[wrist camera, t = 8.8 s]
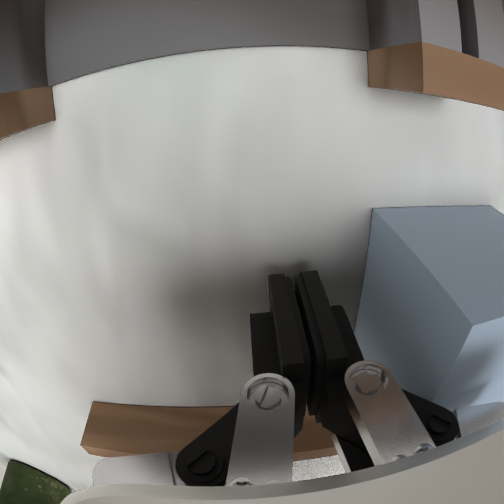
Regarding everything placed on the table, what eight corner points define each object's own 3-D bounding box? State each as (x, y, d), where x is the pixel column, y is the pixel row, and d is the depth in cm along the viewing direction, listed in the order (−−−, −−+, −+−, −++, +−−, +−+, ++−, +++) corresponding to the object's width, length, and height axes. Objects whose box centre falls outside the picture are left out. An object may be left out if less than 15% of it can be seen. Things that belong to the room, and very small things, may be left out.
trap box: (567, 328, 16) (584, 349, 14) (100, 411, 16) (89, 453, 13) (625, 71, 5) (652, 81, 2) (-22, -20, 4) (-72, -26, 1)
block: (457, 315, 13) (514, 403, 8) (353, 335, 13) (396, 452, 8) (490, 205, 10) (587, 284, 5) (372, 208, 10) (473, 325, 5)
